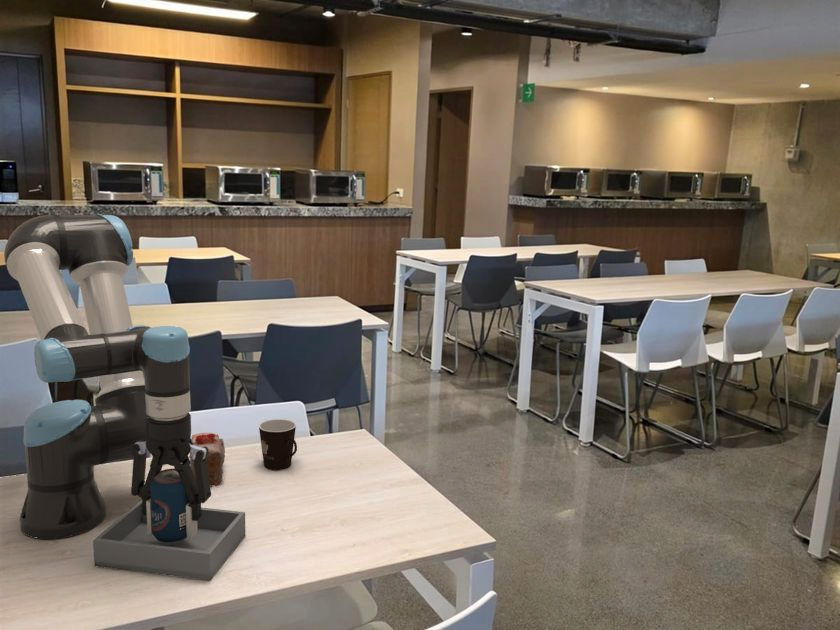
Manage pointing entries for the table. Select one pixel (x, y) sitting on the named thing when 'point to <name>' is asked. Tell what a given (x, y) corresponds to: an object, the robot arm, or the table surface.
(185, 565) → the bin
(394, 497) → the table surface
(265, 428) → the coffee mug
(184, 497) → the soda can
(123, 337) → the robot arm
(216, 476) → the food item
